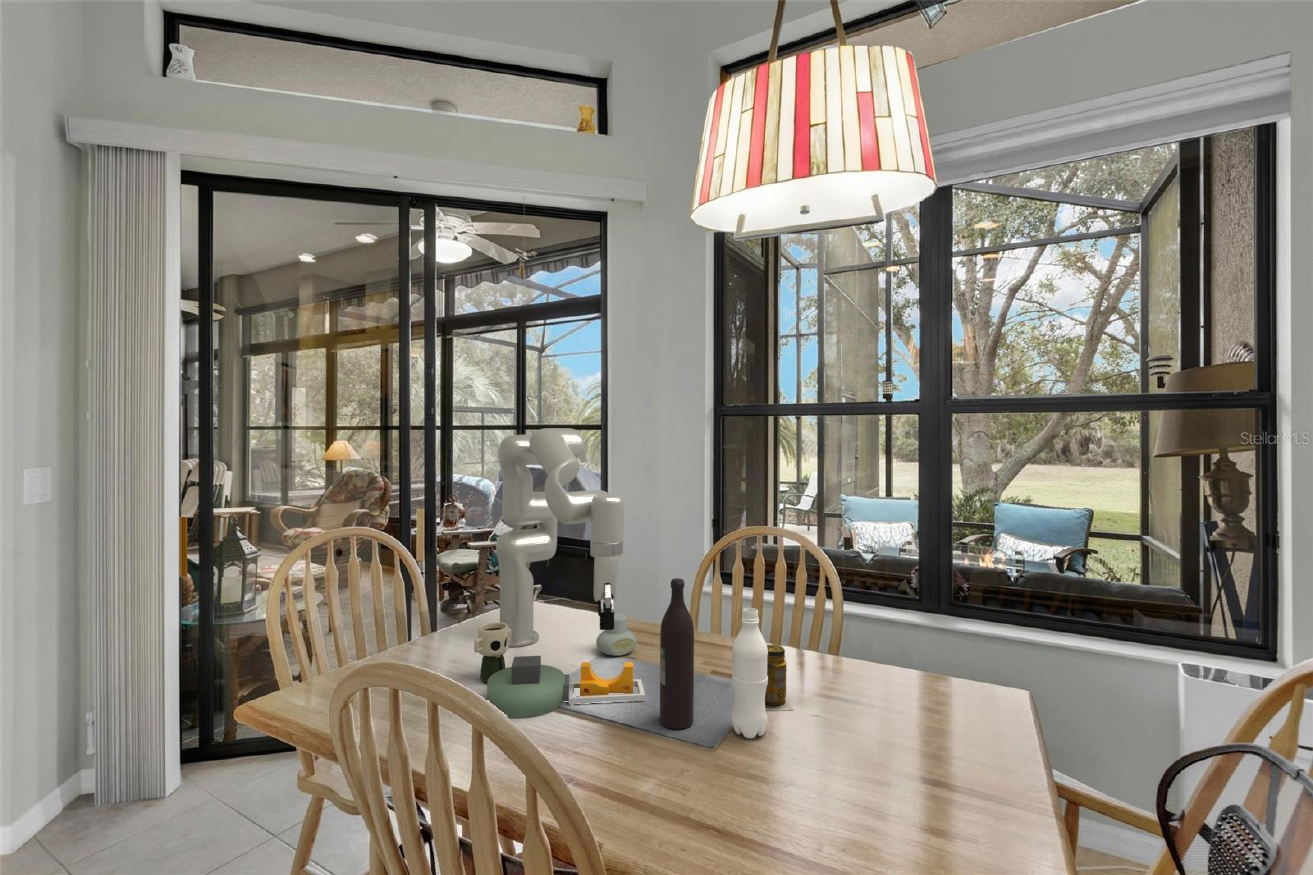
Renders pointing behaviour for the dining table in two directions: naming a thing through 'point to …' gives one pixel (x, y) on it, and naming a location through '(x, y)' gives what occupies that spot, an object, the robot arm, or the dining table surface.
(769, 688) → the condiment
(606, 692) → the pipe clamp
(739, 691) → the water bottle
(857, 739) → the dining table surface
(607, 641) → the air freshener
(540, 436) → the robot arm
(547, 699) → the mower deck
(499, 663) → the character mug
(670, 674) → the wine bottle
